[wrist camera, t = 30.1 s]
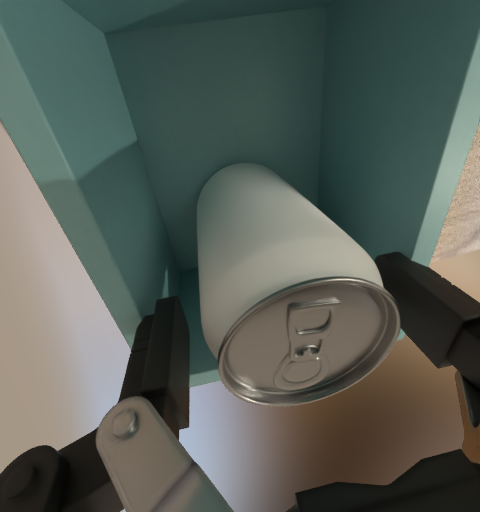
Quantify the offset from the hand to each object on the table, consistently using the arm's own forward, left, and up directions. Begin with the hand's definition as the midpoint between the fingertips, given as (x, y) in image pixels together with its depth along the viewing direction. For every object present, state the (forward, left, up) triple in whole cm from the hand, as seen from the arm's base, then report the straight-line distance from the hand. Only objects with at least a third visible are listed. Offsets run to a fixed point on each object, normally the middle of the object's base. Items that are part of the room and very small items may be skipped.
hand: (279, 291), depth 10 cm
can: (0, 0, -9) cm, 9 cm away
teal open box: (0, +3, -10) cm, 10 cm away
